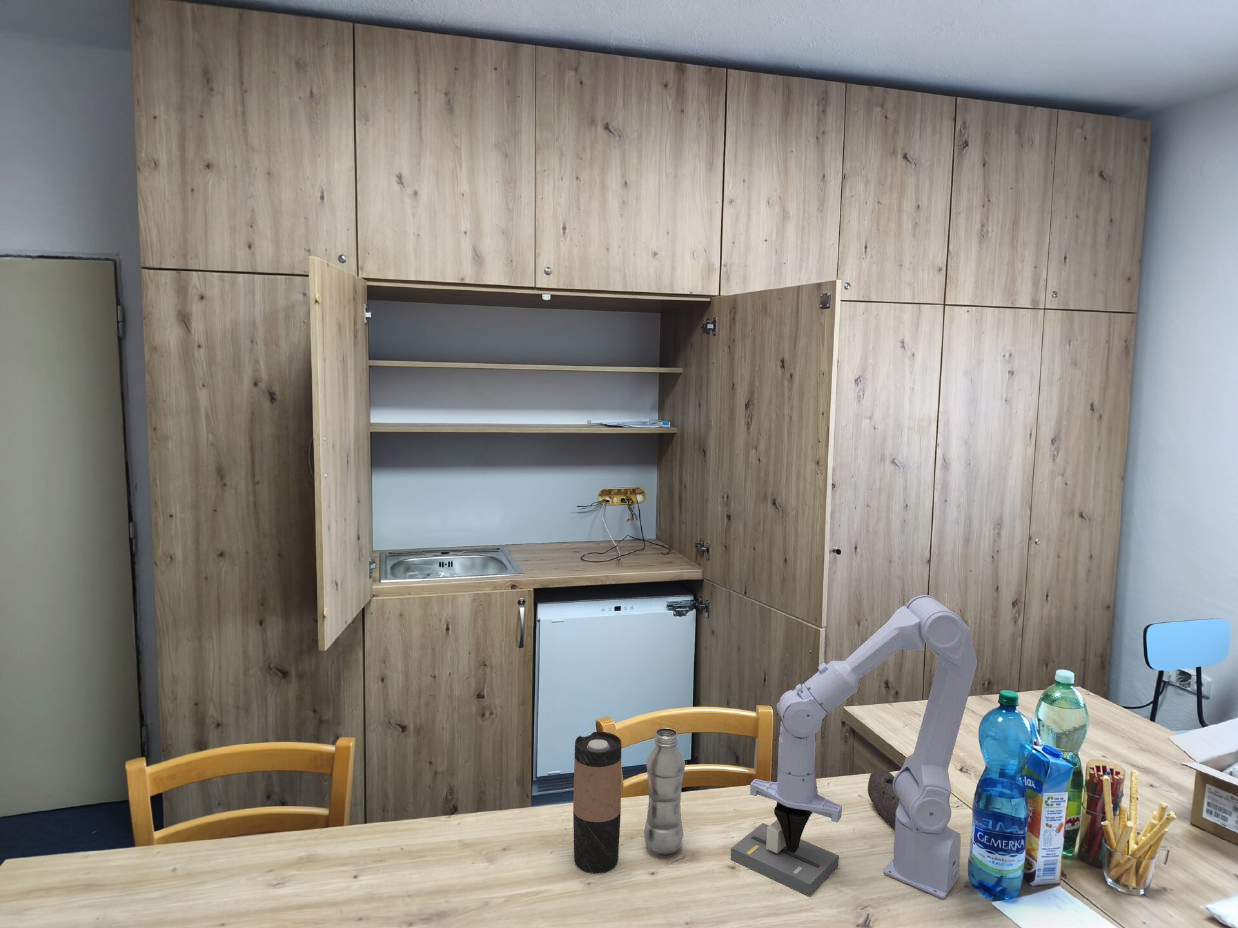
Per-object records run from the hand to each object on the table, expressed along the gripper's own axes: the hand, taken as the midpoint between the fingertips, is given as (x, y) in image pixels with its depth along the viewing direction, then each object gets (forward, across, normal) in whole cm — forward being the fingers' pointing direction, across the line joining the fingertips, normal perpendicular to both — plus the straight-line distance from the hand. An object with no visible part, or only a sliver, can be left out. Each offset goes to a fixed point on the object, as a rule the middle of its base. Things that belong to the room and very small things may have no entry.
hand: (792, 848), depth 125 cm
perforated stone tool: (+3, -11, -23) cm, 25 cm away
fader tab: (0, +3, 0) cm, 3 cm away
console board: (+3, +1, 0) cm, 3 cm away
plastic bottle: (+3, +20, +7) cm, 21 cm away
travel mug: (+3, +27, +16) cm, 32 cm away
